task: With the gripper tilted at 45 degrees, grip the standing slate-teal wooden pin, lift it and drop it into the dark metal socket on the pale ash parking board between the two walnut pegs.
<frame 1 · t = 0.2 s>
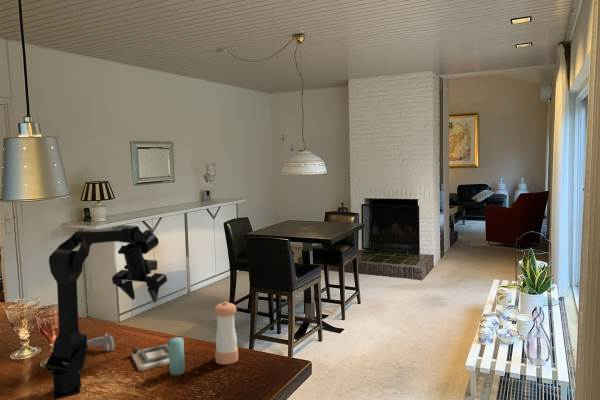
hand: (144, 300, 162), 15 cm above the table, tool pointing down, fingers open, 9 cm apart
pin: (177, 371, 142), on the table
caliper: (86, 349, 160), on the table
parking board: (157, 357, 152), on the table
salt shaker: (226, 359, 150), on the table
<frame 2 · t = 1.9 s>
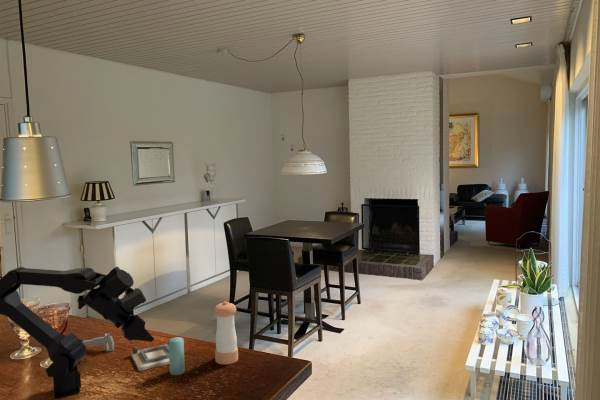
hand: (148, 334, 137), 13 cm above the table, tool tilted 45°, fingers open, 9 cm apart
nothing on the table moved.
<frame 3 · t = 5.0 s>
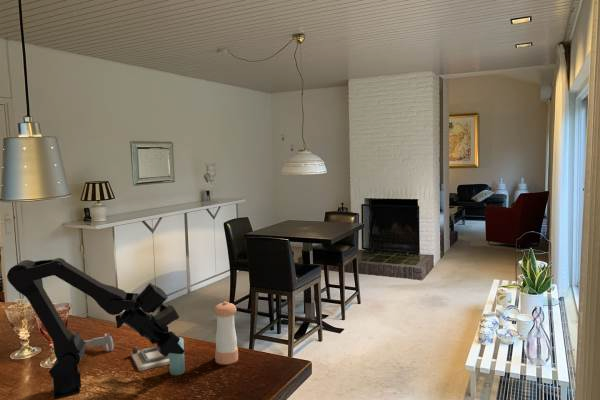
hand: (180, 349, 142), 7 cm above the table, tool tilted 45°, fingers closed on pin, 4 cm apart
pin: (177, 371, 142), on the table, touching gripper
everything else where it was.
when the fingers open (9 cm above the table, at t = 8.9 s): pin drops 2 cm, resting on parking board.
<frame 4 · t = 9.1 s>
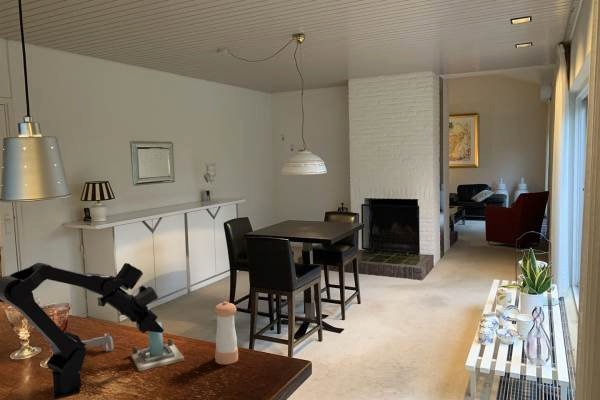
hand: (160, 328, 152), 10 cm above the table, tool tilted 45°, fingers open, 6 cm apart
pin: (156, 354, 152), point 1 cm above the table, touching gripper, parking board
everything else where it was.
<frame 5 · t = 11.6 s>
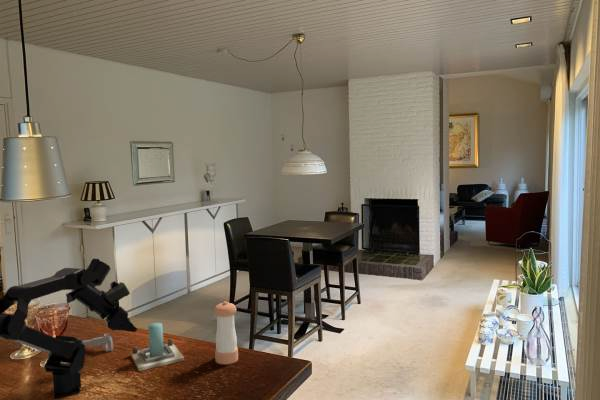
hand: (132, 325, 147), 12 cm above the table, tool tilted 45°, fingers open, 9 cm apart
pin: (156, 354, 152), point 1 cm above the table, touching parking board
everything else where it was.
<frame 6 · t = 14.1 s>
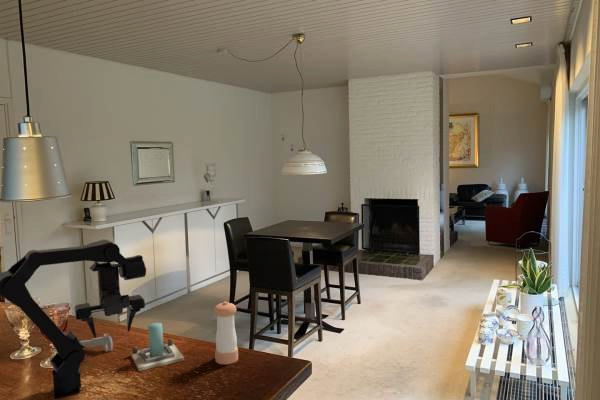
hand: (111, 334, 138), 13 cm above the table, tool pointing down, fingers open, 9 cm apart
nothing on the table moved.
at the end: pin 0.1 cm off-centre on the parking board, point 1.0 cm above the parking board's base; pin tilted 0°; the gripper is holding nothing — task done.
